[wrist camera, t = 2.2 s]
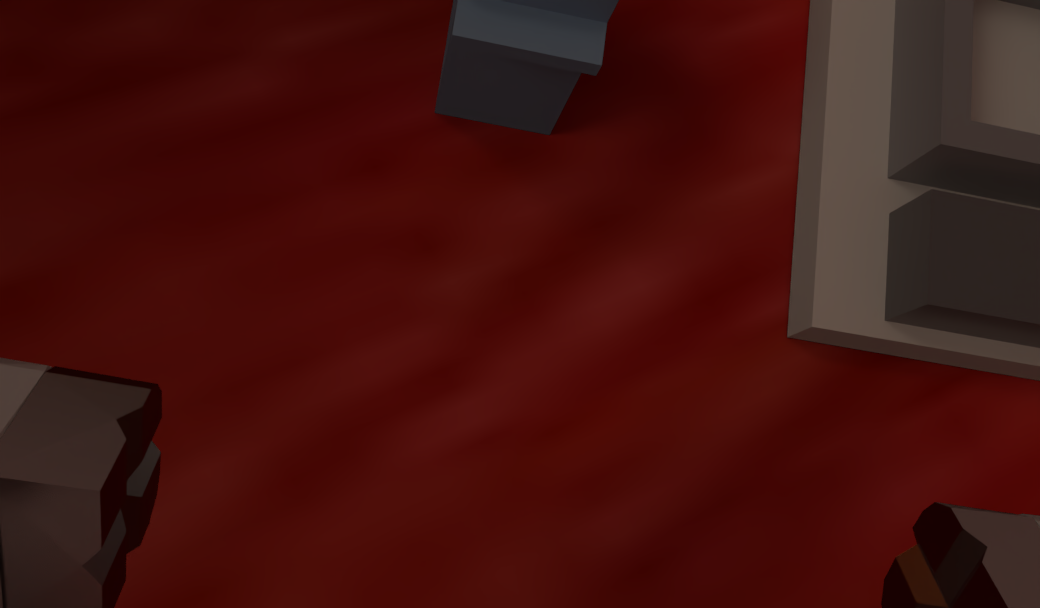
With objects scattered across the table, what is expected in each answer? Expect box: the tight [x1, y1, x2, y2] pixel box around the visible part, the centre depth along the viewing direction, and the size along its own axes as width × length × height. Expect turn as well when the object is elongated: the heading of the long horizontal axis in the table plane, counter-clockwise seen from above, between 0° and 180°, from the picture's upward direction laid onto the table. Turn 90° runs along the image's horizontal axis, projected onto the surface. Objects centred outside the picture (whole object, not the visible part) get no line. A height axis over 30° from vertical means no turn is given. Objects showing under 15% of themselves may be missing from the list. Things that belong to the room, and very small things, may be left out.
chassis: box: [787, 0, 1040, 381], centre depth 27 cm, size 16×10×4 cm, turn 172°
